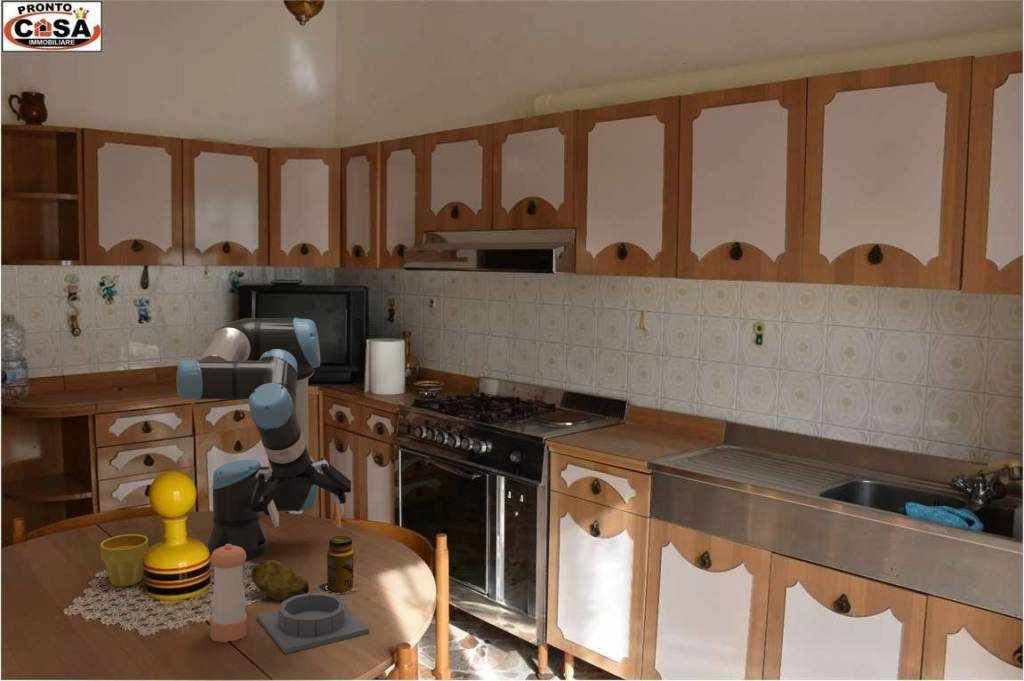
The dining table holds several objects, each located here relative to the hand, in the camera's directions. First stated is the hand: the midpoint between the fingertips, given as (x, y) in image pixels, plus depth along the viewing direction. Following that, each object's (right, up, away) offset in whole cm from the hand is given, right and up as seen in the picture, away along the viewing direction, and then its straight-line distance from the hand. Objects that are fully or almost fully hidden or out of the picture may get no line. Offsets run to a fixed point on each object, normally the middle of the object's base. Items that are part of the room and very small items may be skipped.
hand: (309, 516), depth 180 cm
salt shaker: (-16, -23, -5) cm, 29 cm away
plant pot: (-48, -20, +20) cm, 56 cm away
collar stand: (+1, -23, 0) cm, 23 cm away
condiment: (+2, -21, +20) cm, 29 cm away
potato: (-10, -22, +15) cm, 28 cm away
